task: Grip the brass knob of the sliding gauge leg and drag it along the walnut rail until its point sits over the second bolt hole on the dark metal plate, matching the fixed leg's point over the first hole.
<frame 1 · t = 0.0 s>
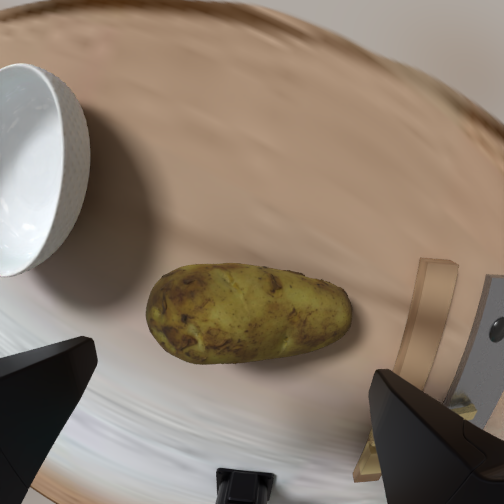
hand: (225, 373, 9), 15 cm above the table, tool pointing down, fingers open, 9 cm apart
hole plate: (478, 384, 24), on the table
rail: (399, 392, 25), on the table
cereal bowl: (45, 166, 23), on the table
potato: (257, 295, 24), on the table
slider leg: (441, 439, 20), point 5 cm above the table, slide at 0.0 cm
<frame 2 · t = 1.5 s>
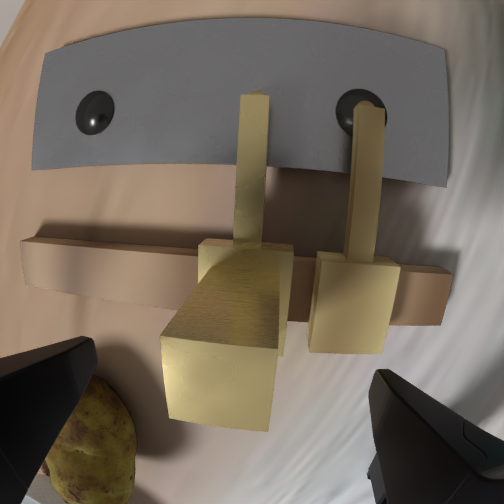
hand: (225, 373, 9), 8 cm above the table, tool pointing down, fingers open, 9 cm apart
hole plate: (221, 90, 15), on the table
rail: (213, 277, 17), on the table
cereal bowl: (82, 496, 27), on the table
potato: (110, 422, 21), on the table
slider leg: (240, 233, 11), point 5 cm above the table, slide at 0.0 cm
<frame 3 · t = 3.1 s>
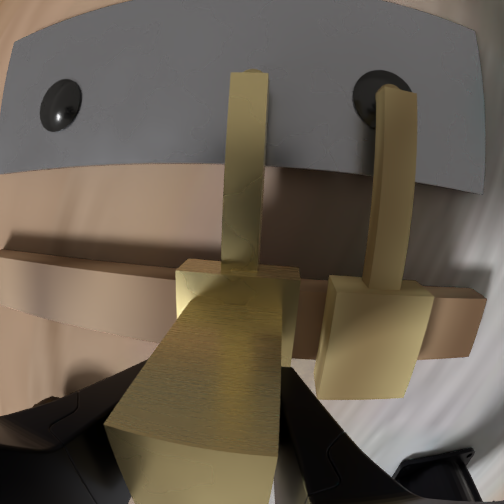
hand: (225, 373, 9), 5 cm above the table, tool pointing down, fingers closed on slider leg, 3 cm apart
hole plate: (209, 72, 11), on the table
rail: (200, 302, 14), on the table
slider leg: (226, 261, 8), point 5 cm above the table, slide at 0.0 cm, touching gripper
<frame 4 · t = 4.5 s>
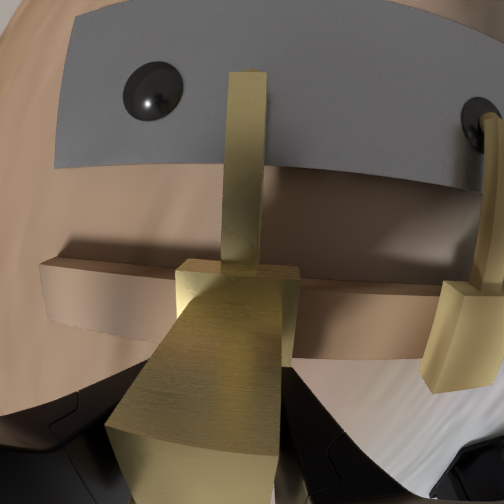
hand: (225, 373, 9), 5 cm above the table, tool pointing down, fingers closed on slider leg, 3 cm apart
hole plate: (329, 76, 11), on the table
rail: (313, 311, 13), on the table
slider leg: (226, 261, 8), point 5 cm above the table, slide at 5.0 cm, touching gripper
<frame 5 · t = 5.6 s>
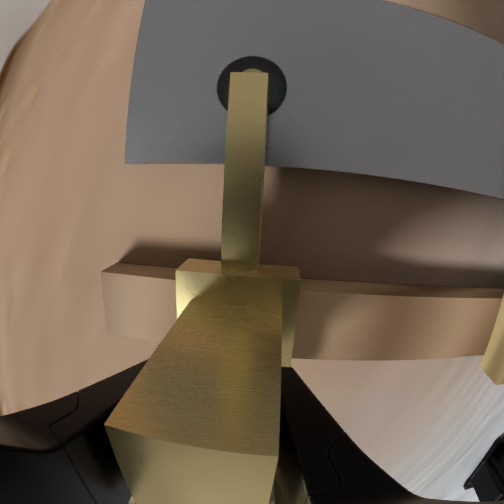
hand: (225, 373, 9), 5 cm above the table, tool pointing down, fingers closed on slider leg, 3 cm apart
hole plate: (417, 93, 11), on the table
rail: (395, 315, 13), on the table
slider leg: (226, 261, 8), point 5 cm above the table, slide at 8.9 cm, touching gripper
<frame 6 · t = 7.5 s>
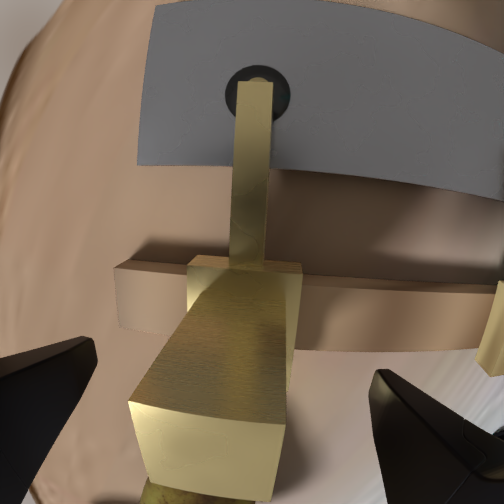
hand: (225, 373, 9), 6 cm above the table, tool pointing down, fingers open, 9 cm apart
hole plate: (413, 99, 12), on the table
rail: (392, 309, 14), on the table
potato: (210, 469, 18), on the table
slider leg: (236, 255, 8), point 5 cm above the table, slide at 8.9 cm
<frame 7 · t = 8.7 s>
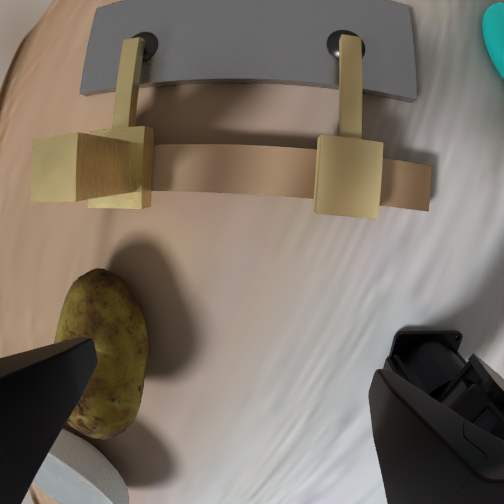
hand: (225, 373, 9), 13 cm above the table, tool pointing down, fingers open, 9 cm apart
hole plate: (241, 33, 18), on the table
rail: (233, 169, 20), on the table
cereal bowl: (84, 452, 30), on the table
potato: (121, 338, 24), on the table
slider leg: (100, 107, 15), point 5 cm above the table, slide at 8.9 cm
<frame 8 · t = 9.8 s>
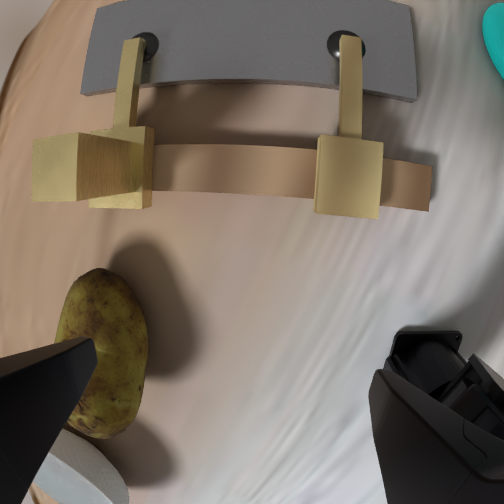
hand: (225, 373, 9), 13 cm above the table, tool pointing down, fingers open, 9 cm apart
hole plate: (242, 33, 18), on the table
rail: (233, 169, 20), on the table
cereal bowl: (84, 451, 30), on the table
potato: (122, 337, 24), on the table
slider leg: (101, 107, 15), point 5 cm above the table, slide at 8.9 cm
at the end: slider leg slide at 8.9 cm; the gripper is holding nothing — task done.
